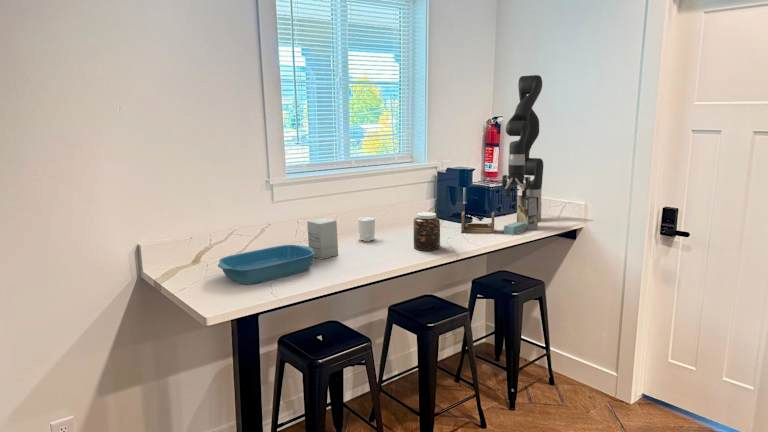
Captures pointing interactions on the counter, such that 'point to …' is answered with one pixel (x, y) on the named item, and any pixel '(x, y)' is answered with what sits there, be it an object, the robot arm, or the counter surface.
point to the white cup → (366, 228)
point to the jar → (426, 232)
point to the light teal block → (514, 228)
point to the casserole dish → (267, 263)
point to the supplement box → (323, 237)
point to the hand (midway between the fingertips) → (515, 197)
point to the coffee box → (528, 211)
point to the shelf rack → (477, 226)
